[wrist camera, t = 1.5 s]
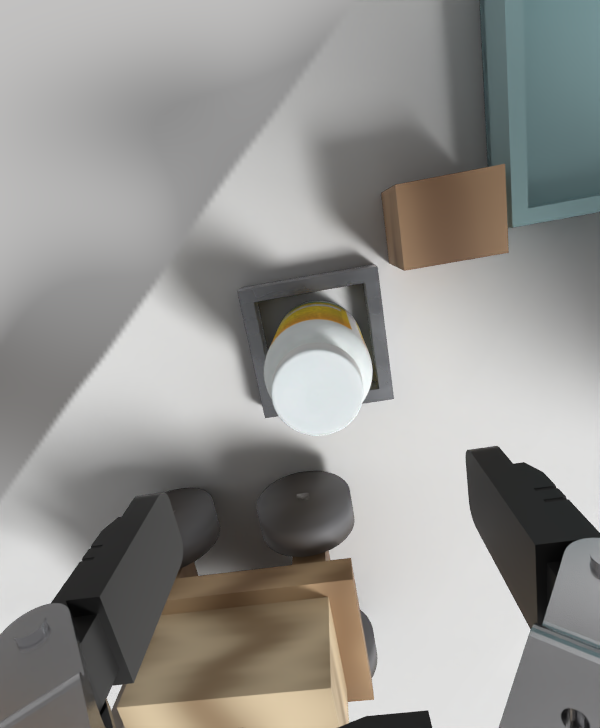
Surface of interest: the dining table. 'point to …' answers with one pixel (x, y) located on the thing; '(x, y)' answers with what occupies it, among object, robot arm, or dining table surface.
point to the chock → (446, 218)
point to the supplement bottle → (318, 368)
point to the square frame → (313, 283)
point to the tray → (543, 105)
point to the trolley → (259, 622)
